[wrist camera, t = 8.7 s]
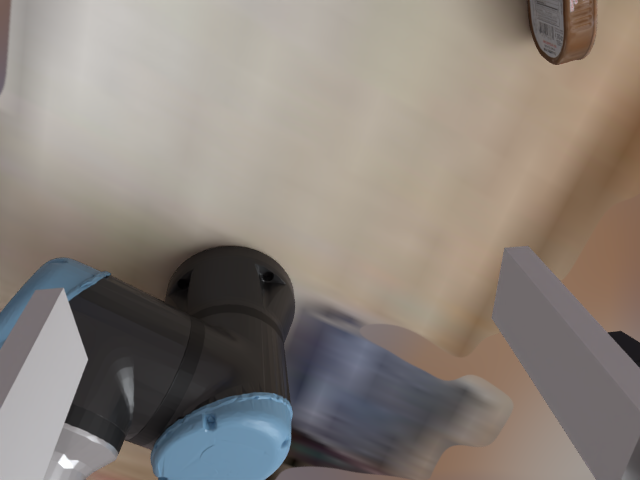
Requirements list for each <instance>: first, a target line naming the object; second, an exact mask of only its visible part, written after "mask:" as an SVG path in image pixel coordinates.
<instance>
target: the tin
mask: <svg viewBox="0 0 640 480" xmlns="http://www.w3.org/2000/svg"><path fill="white" fill-rule="evenodd" d="M528 12H529V22H530V28H531V33H532V36H533V40H534V42H535V45H536V47H537V49H538V51H539V53H540V54H541V55H542V56H543V57H544V58H545V59H546V60H547V61H549V62H550V63H552V64H555V65H559V64H563V63H567V62H570V61H573V60H581V59H583V58H585V57H586V56H587V55H588V54H589V53H590V51H591V50H592V47H593V45H594V41H595V37H596V31H597V0H528Z"/></svg>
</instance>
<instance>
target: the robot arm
mask: <svg viewBox="0 0 640 480" xmlns="http://www.w3.org/2000/svg"><path fill="white" fill-rule="evenodd" d="M294 313H295V299H294V291H293V286H292V283H291V281H290V278H289V276H288V275H287V273H286V272H285V270H284V269H283V268H282V267H281V266H280V265H279V264H278V263H277V262H276V261H275V260H273V259H272V258H270V257H269V256H267V255H265V254H263V253H261V252H258V251H256V250H253V249H249V248H244V247H235V246H227V247H217V248H212V249H209V250H205V251H203V252H200V253H198V254H196V255H194V256H192V257H191V258H189V259H188V260H186V261H185V262H184V263H183V264H182V265H181V266H180V267H179V268H178V269H177V270H176V272H175V273H174V274H173V276H172V278H171V280H170V282H169V285H168V289H167V294H166V298H165V302H163V301H161V300H159V299H157V298H155V297H153V296H151V295H149V294H147V293H145V292H143V291H141V290H139V289H137V288H135V287H133V286H131V285H129V284H127V283H125V282H123V281H121V280H119V279H117V278H115V277H113V276H111V273H109V272H107V271H103V272H101V271H99V270H96V269H94V268H92V267H90V266H87V265H85V264H83V263H80V262H78V261H76V260H73V259H70V258H56V259H53V260H50V261H48V262H46V263H45V264H44V265H43V266H41V267H40V268H39V269H38V270H37V271H36V272H35V273H34V275H33V276H32V277H31V278H30V279H29V280H28V281H27V282H26V283H25V284H24V285H23V287H22V288H21V289H20V290H19V291H18V292H17V293H16V295H15V296H14V297H13V298H12V299H11V300H10V302H9V303H8V304H7V305H6V306H5V308H4V309H3V310H2V311H1V312H0V480H85V479H86V478H87V477H88V476H89V475H90V474H92V473H93V472H95V471H96V470H98V469H100V468H102V467H104V466H105V465H107V464H109V463H111V462H113V461H115V460H116V458H117V456H118V454H119V451H120V449H121V446H122V444H123V442H124V440H125V441H129V442H131V443H134V444H137V445H140V446H142V447H145V448H148V449H150V450H152V452H151V458H150V459H151V464H152V467H153V472H154V474H155V475H156V477H158V480H265V479H266V478H267V477H269V476H270V475H271V474H272V473H273V472H274V471H276V470H277V469H278V467H279V466H280V465H281V464H282V462H283V461H284V459H285V458H286V456H287V454H288V451H289V448H290V444H291V420H292V413H293V412H292V407H291V402H290V393H289V385H288V376H287V367H286V359H285V350H284V342H285V340H286V337H287V334H288V332H289V329H290V327H291V324H292V321H293V318H294ZM492 319H493V321H494V322H495V324H496V325H497V327H498V328H499V330H500V332H501V333H502V335H503V336H504V337H505V339H506V341H507V342H508V344H509V345H510V347H511V349H512V350H513V352H514V353H515V355H516V356H517V358H518V359H519V361H520V363H521V364H522V366H523V367H524V369H525V370H526V372H527V373H528V375H529V377H530V378H531V380H532V381H533V383H534V384H535V386H536V387H537V389H538V390H539V392H540V394H541V395H542V396H543V398H544V400H545V401H546V403H547V404H548V406H549V408H550V409H551V411H552V412H553V414H554V415H555V417H556V418H557V420H558V421H559V423H560V425H561V426H562V428H563V429H564V431H565V432H566V434H567V435H568V437H569V439H570V440H571V442H572V443H573V445H574V446H575V448H576V449H577V451H578V453H579V454H580V456H581V457H582V459H583V460H584V461H585V463H586V465H587V466H588V468H589V470H590V471H591V473H592V474H593V476H594V477H595V479H596V480H640V343H639V342H638V341H636V340H635V339H633V338H631V337H630V336H628V335H627V334H625V333H623V332H622V331H617V332H608V333H607V332H606V331H605V330H604V328H603V327H602V326H601V325H600V324H599V323H598V322H597V321H596V320H595V319H594V318H593V316H592V315H590V313H589V312H588V311H587V310H586V309H585V308H584V307H583V305H582V304H581V303H580V302H579V301H578V300H577V299H576V298H575V297H574V296H573V295H572V293H571V292H570V291H569V290H568V289H567V288H566V287H565V286H564V285H563V284H562V282H561V281H560V280H559V279H558V278H557V277H556V276H555V275H554V274H553V273H552V271H551V270H550V269H549V268H548V267H547V266H546V265H545V264H544V263H543V262H542V261H541V259H540V258H539V257H538V256H537V255H536V254H535V253H534V252H533V251H532V250H531V248H530V247H529V246H521V247H510V248H504V253H503V259H502V264H501V270H500V275H499V281H498V286H497V292H496V298H495V303H494V309H493V314H492Z"/></svg>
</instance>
